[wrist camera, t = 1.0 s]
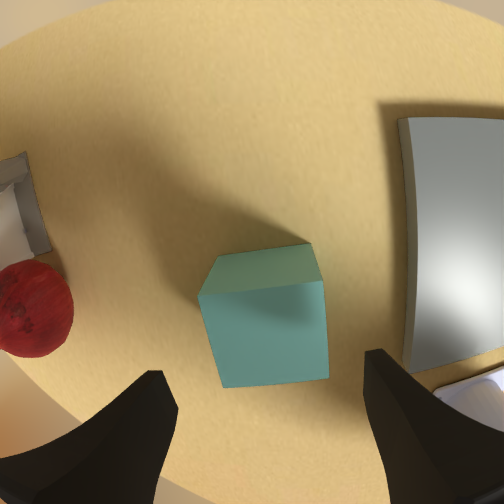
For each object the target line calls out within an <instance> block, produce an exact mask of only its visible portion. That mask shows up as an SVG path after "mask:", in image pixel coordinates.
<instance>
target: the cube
mask: <svg viewBox="0 0 504 504" xmlns="http://www.w3.org/2000/svg"><path fill="white" fill-rule="evenodd" d="M197 297H198V301H199V305H200V309H201V313H202V316H203V320H204V324H205V327H206V331H207V334H208V338H209V342H210V345H211V349H212V352H213V355H214V359H215V362H216V366H217V369H218V372H219V376H220V379H221V382H222V386H223V388H235V387H251V386H264V385H275V384H286V383H295V382H304V381H312V380H319V379H326V378H329V359H328V341H327V326H326V312H325V299H324V287H323V279H322V276H321V273H320V270H319V267H318V264H317V261H316V258H315V255H314V252H313V249H312V246H311V243H308V244H300V245H293V246H286V247H279V248H271V249H264V250H257V251H250V252H243V253H235V254H228V255H221V256H218V257H217V259H216V261H215V263H214V265H213V267H212V269H211V270H210V272H209V274H208V276H207V278H206V280H205V282H204V284H203V286H202V288H201V290H200V292H199V293H198V295H197Z"/></svg>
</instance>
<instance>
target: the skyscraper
mask: <svg viewBox="0 0 504 504" xmlns="http://www.w3.org/2000/svg"><path fill="white" fill-rule="evenodd" d="M50 251H52V248H51V245H50V242H49V239H48V235H47V232H46V229H45V226H44V223H43V219H42V216H41V212H40V209H39V205H38V201H37V198H36V194H35V190H34V186H33V182H32V177H31V173H30V168H29V164H28V159H27V154H26V151H25V152H23V153H21V154H20V155H18V156H17V157H14V158H10V159H6V160H3V161H0V271H2V270H3V269H4V268H6V267H7V266H8V265H11V264H14V263H17V262H20V261H23V260H27V259H32V258H33V257H35V256H37V255H40V254H43V253H46V252H50Z"/></svg>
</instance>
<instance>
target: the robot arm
mask: <svg viewBox="0 0 504 504" xmlns="http://www.w3.org/2000/svg"><path fill="white" fill-rule="evenodd" d="M503 391H504V366H502V367H499V368H497V369H494V370H491V371H489V372H486V373H483V374H480V375H478V376H475V377H472V378H469V379H466V380H463V381H460V382H457V383H453V384H450V385H447V386H444V387H440V388H438V389H436V390H435V391H434V392H433V394H432V393H431V392H430V391H428V390H427V389H426V388H425V387H423V386H422V385H421V384H420V383H419V382H417V381H416V380H415V379H414V378H413V377H412V376H411V375H409V374H408V373H407V372H406V371H405V370H404V369H403V368H402V367H401V366H400V365H399V364H398V363H397V362H396V361H395V360H394V359H393V358H392V357H391V356H390V355H389V354H388V353H386V352H385V351H384V350H383V349H382V348H381V349H376V350H371V351H365V363H364V386H363V396H364V401H365V406H366V411H367V415H368V419H369V422H370V425H371V428H372V431H373V434H374V437H375V440H376V443H377V447H378V450H379V453H380V456H381V459H382V462H383V465H384V469H385V473H386V477H387V483H388V489H389V495H390V502H391V504H504V393H503ZM178 409H179V408H178V406H177V404H176V402H175V400H174V397H173V395H172V393H171V390H170V388H169V386H168V383H167V381H166V378H165V376H164V374H163V371H162V370H148V371H147V372H145V373H144V374H143V375H142V376H140V377H139V378H138V379H137V380H136V381H135V382H133V383H132V384H131V385H130V386H129V387H128V388H127V389H126V390H124V391H123V392H122V393H121V394H120V395H119V396H117V397H116V398H115V399H114V400H113V401H112V402H111V403H109V404H108V405H107V406H106V407H104V408H103V409H102V410H100V411H99V412H98V413H97V414H95V415H94V416H93V417H92V418H90V419H89V420H87V421H86V422H85V423H83V424H82V425H80V426H78V427H77V428H75V429H74V430H72V431H70V432H69V433H67V434H65V435H63V436H61V437H59V438H57V439H55V440H53V441H51V442H50V443H47V444H45V445H43V446H40V447H38V448H35V449H32V450H30V451H27V452H24V453H21V454H17V455H13V456H9V457H5V458H0V498H1V499H2V500H3V501H4V502H6V503H7V504H153V500H154V495H155V490H156V485H157V482H158V478H159V475H160V472H161V469H162V466H163V463H164V461H165V458H166V455H167V452H168V449H169V446H170V443H171V440H172V437H173V434H174V431H175V426H176V421H177V415H178Z"/></svg>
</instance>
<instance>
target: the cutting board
mask: <svg viewBox="0 0 504 504" xmlns="http://www.w3.org/2000/svg"><path fill="white" fill-rule="evenodd" d="M397 122H398V129H399V136H400V144H401V152H402V161H403V171H404V182H405V195H406V212H407V241H408V275H407V304H406V321H405V334H404V345H403V355H402V362H403V364H404V366H405V368H406V370H407V372H408V374H412V373H416V372H420V371H424V370H428V369H432V368H436V367H439V366H443V365H447V364H450V363H454V362H457V361H460V360H464V359H467V358H470V357H473V356H476V355H479V354H482V353H485V352H488V351H491V350H494V349H497V348H499V347H502V346H504V120H501V119H485V118H461V117H409V118H403V119H398V120H397Z"/></svg>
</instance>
